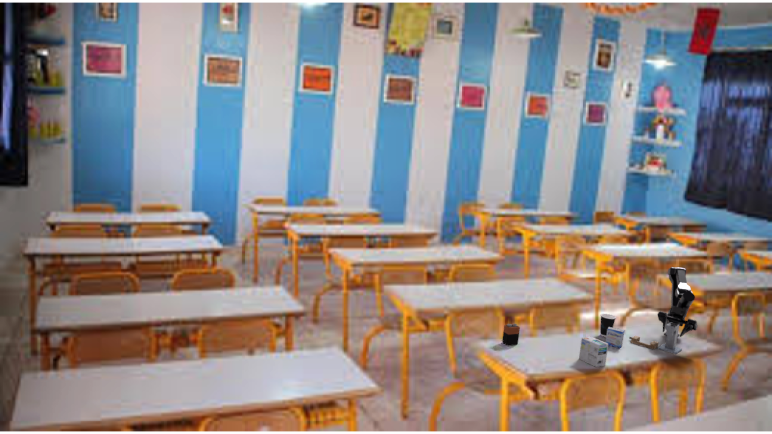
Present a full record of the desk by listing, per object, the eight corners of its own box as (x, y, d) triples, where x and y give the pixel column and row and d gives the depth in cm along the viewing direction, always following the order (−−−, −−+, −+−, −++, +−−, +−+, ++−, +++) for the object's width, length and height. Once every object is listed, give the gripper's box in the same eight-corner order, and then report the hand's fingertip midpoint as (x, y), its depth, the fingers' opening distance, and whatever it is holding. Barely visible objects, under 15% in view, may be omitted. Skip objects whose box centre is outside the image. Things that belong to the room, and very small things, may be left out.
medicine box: (604, 344, 333) (607, 328, 332) (606, 342, 337) (608, 326, 336) (620, 348, 330) (623, 332, 328) (622, 346, 334) (624, 329, 332)
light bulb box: (605, 365, 304) (609, 343, 302) (596, 367, 301) (599, 345, 299) (587, 357, 313) (590, 335, 311) (578, 359, 309) (581, 337, 308)
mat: (663, 345, 341) (664, 343, 341) (681, 350, 335) (682, 348, 335) (657, 348, 334) (658, 347, 334) (676, 354, 328) (676, 352, 328)
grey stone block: (667, 345, 337) (671, 321, 335) (675, 348, 335) (679, 323, 333) (662, 349, 331) (666, 324, 329) (670, 351, 329) (674, 326, 327)
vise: (631, 338, 346) (631, 334, 346) (657, 346, 337) (658, 342, 337) (626, 341, 342) (627, 336, 341) (653, 349, 333) (654, 344, 332)
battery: (501, 342, 323) (504, 323, 321) (512, 341, 326) (515, 322, 324) (506, 345, 319) (509, 326, 317) (518, 344, 322) (520, 325, 320)
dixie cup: (595, 335, 346) (598, 315, 344) (599, 332, 353) (602, 312, 351) (611, 339, 342) (614, 319, 340) (614, 335, 349) (617, 316, 347)
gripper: (661, 296, 339) (650, 320, 333) (699, 305, 328) (689, 330, 321) (664, 308, 347) (653, 332, 340) (701, 317, 335) (691, 342, 328)
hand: (671, 334), depth 332 cm, fingers open, 8 cm apart
